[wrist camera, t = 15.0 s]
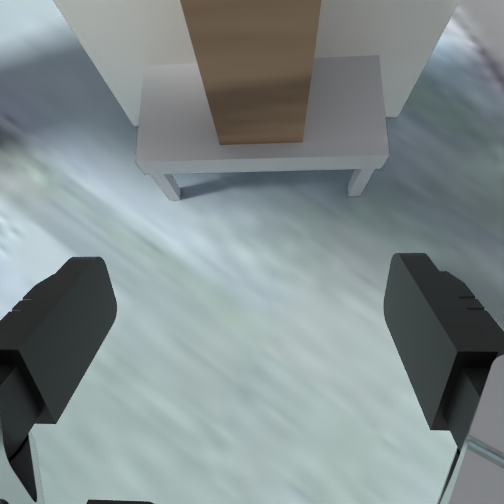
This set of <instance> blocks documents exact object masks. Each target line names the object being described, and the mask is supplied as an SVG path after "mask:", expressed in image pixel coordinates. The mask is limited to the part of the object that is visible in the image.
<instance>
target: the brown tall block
mask: <svg viewBox="0 0 504 504" xmlns="http://www.w3.org/2000/svg"><path fill="white" fill-rule="evenodd" d="M321 1H322V0H180V2H181V6H182V10H183V13H184V17H185V20H186V24H187V28H188V31H189V35H190V39H191V42H192V46H193V49H194V53H195V57H196V60H197V64H198V68H199V71H200V75H201V78H202V82H203V86H204V89H205V93H206V97H207V100H208V104H209V107H210V111H211V115H212V118H213V122H214V126H215V129H216V133H217V136H218V140H219V144H220V145H236V144H267V143H298V142H303V136H304V128H305V121H306V113H307V106H308V98H309V91H310V83H311V76H312V68H313V61H314V53H315V46H316V38H317V31H318V23H319V16H320V8H321Z"/></svg>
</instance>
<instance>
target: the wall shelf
mask: <svg viewBox="0 0 504 504" xmlns="http://www.w3.org/2000/svg"><path fill="white" fill-rule="evenodd" d="M53 1H54V3H55V4H56V6H57V7H58V9H59V10H60V12H61V14H62V15H63V17H64V18H65V20H66V21H67V23H68V24H69V26H70V28H71V29H72V31H73V32H74V34H75V35H76V37H77V38H78V40H79V42H80V43H81V45H82V46H83V48H84V49H85V51H86V52H87V54H88V56H89V57H90V59H91V60H92V62H93V63H94V65H95V66H96V68H97V70H98V71H99V73H100V74H101V76H102V77H103V79H104V80H105V82H106V84H107V85H108V87H109V88H110V90H111V91H112V93H113V94H114V96H115V98H116V99H117V101H118V102H119V104H120V105H121V107H122V108H123V110H124V112H125V113H126V115H127V116H128V118H129V119H130V121H131V122H132V124H133V126H138V134H137V144H136V154H135V163H136V164H137V166H138V167H139V168H140V170H141V171H142V172H143V174H144V175H146V174H151V176H152V177H153V179H154V180H155V181H156V183H157V184H158V185H159V187H160V188H161V190H162V191H163V192H164V194H165V195H166V196H167V198H168V199H169V200H180V194H181V189H180V188H179V186H178V184H177V183H176V181H175V179H174V178H173V176H172V175H171V174H185V173H224V172H263V171H303V170H342V169H355V171H354V173H353V175H352V177H351V179H350V182H349V184H348V196H360V195H361V193H362V191H363V190H364V188H365V186H366V184H367V183H368V181H369V179H370V177H371V175H372V174H373V172H374V170H375V169H381V168H382V167H383V165H384V163H385V162H386V160H387V158H388V157H389V145H388V136H387V126H386V118H388V117H398V116H399V114H400V112H401V110H402V108H403V106H404V104H405V102H406V101H407V99H408V97H409V95H410V93H411V91H412V89H413V87H414V86H415V84H416V82H417V80H418V78H419V76H420V74H421V72H422V71H423V69H424V67H425V65H426V63H427V61H428V59H429V57H430V56H431V54H432V52H433V50H434V48H435V46H436V44H437V42H438V41H439V39H440V37H441V35H442V33H443V31H444V29H445V27H446V26H447V24H448V22H449V20H450V18H451V16H452V14H453V12H454V11H455V9H456V7H457V5H458V3H459V1H460V0H322V1H321V8H320V16H319V23H318V31H317V38H316V46H315V53H314V61H313V68H312V76H311V83H310V91H309V98H308V106H307V113H306V121H305V128H304V136H303V142H298V143H267V144H236V145H220V144H219V140H218V136H217V133H216V129H215V126H214V122H213V118H212V115H211V111H210V107H209V104H208V100H207V97H206V93H205V89H204V86H203V82H202V78H201V75H200V71H199V68H198V64H197V60H196V57H195V53H194V49H193V46H192V42H191V39H190V35H189V31H188V28H187V24H186V20H185V17H184V13H183V10H182V6H181V2H180V0H53Z"/></svg>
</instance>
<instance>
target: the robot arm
mask: <svg viewBox="0 0 504 504" xmlns="http://www.w3.org/2000/svg"><path fill="white" fill-rule="evenodd" d="M116 313H117V303H116V298H115V295H114V291H113V288H112V284H111V281H110V278H109V274H108V271H107V267H106V264H105V262H104V260H103V259H102V258H101V257H72V258H70V259H69V260H68V261H67V262H66V263H65V264H64V265H63V266H62V267H61V268H60V269H59V270H58V271H57V272H56V273H55V274H54V275H51V276H50V277H48V278H47V279H45V280H43V281H42V282H40V283H38V284H37V285H35V286H34V287H33V288H32V289H31V290H30V291H29V292H28V293H27V294H26V295H25V296H24V297H23V300H22V301H19V302H18V303H17V304H16V305H15V306H14V307H13V308H12V312H8V313H7V315H6V316H5V317H4V318H3V319H2V320H1V321H0V504H45V500H44V494H43V488H42V481H41V475H40V469H39V462H38V456H37V450H36V443H35V439H34V437H33V435H32V433H31V432H30V430H31V428H32V427H33V425H34V424H35V423H36V424H56V423H57V421H58V420H59V418H60V416H61V414H62V413H63V411H64V409H65V407H66V406H67V404H68V402H69V400H70V399H71V397H72V395H73V393H74V392H75V390H76V388H77V386H78V385H79V383H80V381H81V379H82V378H83V376H84V374H85V372H86V371H87V369H88V367H89V365H90V364H91V362H92V360H93V358H94V357H95V355H96V353H97V351H98V350H99V348H100V346H101V344H102V343H103V341H104V339H105V337H106V335H107V334H108V332H109V330H110V328H111V327H112V325H113V323H114V321H115V318H116ZM384 316H385V320H386V323H387V326H388V328H389V331H390V333H391V336H392V338H393V340H394V343H395V345H396V348H397V350H398V353H399V355H400V357H401V360H402V362H403V365H404V367H405V370H406V372H407V374H408V377H409V379H410V382H411V384H412V387H413V389H414V391H415V394H416V396H417V399H418V401H419V404H420V406H421V408H422V411H423V413H424V416H425V418H426V421H427V423H428V425H429V428H430V430H450V432H451V434H452V436H453V438H454V440H455V442H456V444H457V449H456V451H455V454H454V457H453V459H452V462H451V465H450V468H449V471H448V474H447V476H446V479H445V482H444V485H443V488H442V491H441V493H440V496H439V499H438V502H437V504H504V332H503V330H502V329H501V328H500V327H499V325H498V324H497V323H496V322H495V321H494V319H493V318H492V317H491V316H490V314H489V313H488V312H487V311H484V307H483V306H482V304H481V303H480V302H479V301H478V299H475V296H474V295H473V293H472V292H471V291H470V290H469V288H468V287H467V286H466V285H465V283H463V282H462V281H460V280H459V279H457V278H456V277H454V276H453V275H451V274H450V273H448V272H447V271H439V270H438V269H437V268H436V266H435V265H434V264H433V262H432V261H431V260H430V258H429V257H428V256H427V254H425V253H396V254H394V255H393V257H392V260H391V264H390V270H389V275H388V281H387V286H386V292H385V297H384ZM87 504H154V503H151V502H144V501H114V500H88V502H87Z"/></svg>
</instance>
